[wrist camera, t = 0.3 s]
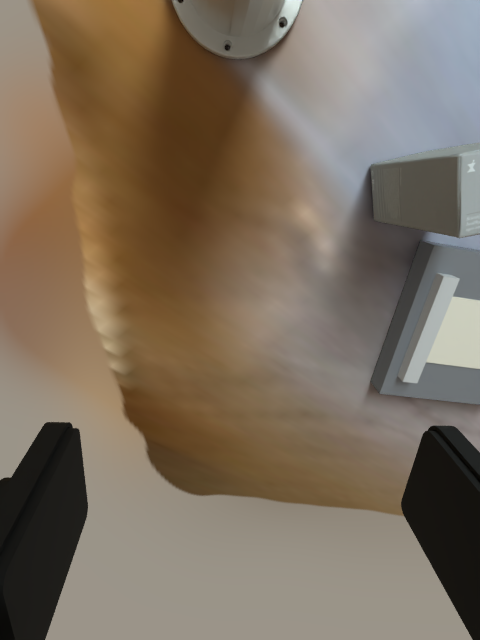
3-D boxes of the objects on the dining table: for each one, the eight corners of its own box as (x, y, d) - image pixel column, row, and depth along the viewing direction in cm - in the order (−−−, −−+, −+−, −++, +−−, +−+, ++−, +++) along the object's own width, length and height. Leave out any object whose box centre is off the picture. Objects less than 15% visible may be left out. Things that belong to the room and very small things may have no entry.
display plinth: (420, 240, 45) (441, 248, 41) (549, 262, 48) (582, 272, 44) (370, 381, 53) (384, 400, 49) (484, 394, 55) (507, 413, 51)
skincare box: (371, 221, 44) (452, 250, 30) (368, 155, 41) (455, 152, 27) (442, 206, 44) (557, 228, 30) (443, 140, 41) (572, 128, 27)
